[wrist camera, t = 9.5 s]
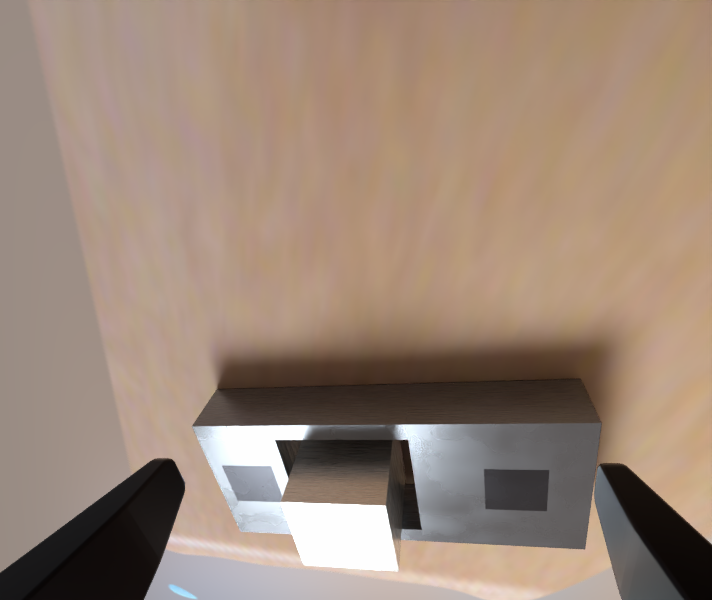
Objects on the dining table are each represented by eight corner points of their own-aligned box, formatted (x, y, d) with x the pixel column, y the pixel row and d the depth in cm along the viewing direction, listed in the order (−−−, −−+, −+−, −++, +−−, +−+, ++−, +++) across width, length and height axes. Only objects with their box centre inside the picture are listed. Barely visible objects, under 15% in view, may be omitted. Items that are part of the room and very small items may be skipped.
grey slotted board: (580, 378, 21) (601, 423, 18) (569, 499, 25) (585, 549, 22) (216, 389, 25) (191, 426, 23) (257, 490, 29) (240, 531, 27)
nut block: (395, 410, 24) (385, 505, 19) (405, 471, 26) (398, 571, 21) (311, 411, 25) (280, 501, 20) (328, 470, 27) (303, 565, 22)
